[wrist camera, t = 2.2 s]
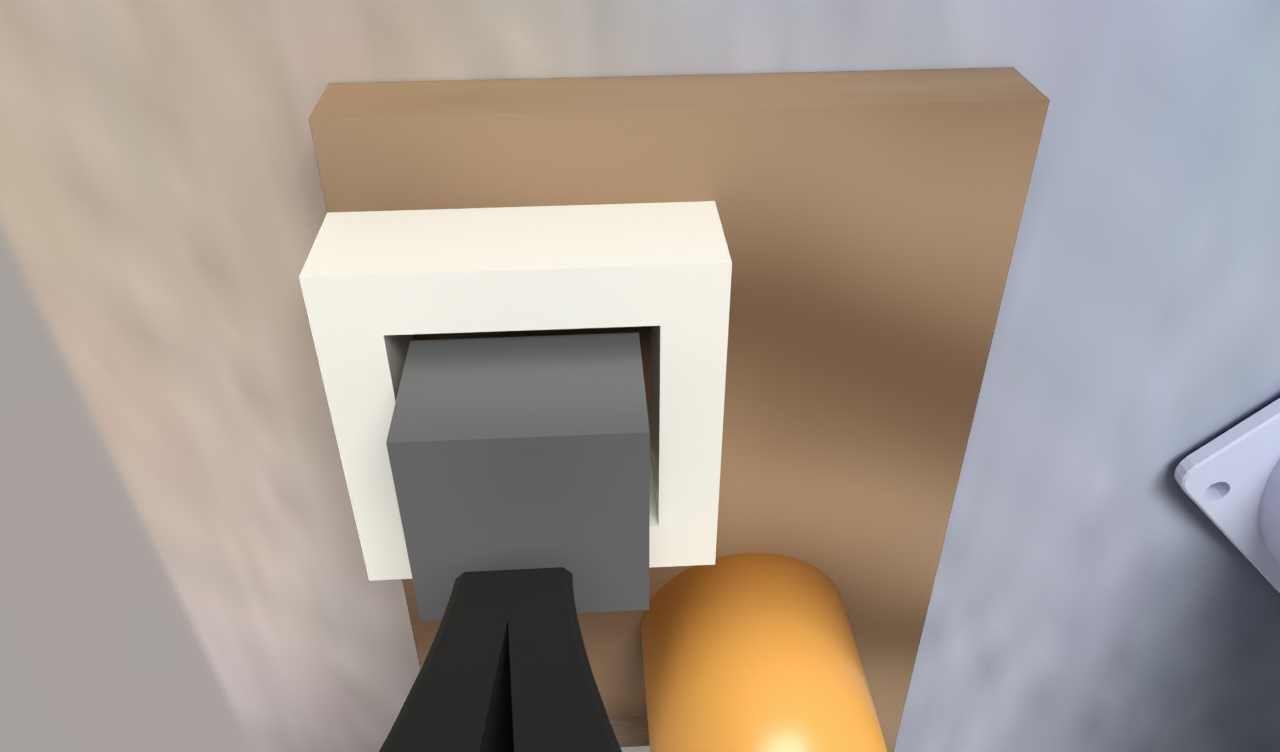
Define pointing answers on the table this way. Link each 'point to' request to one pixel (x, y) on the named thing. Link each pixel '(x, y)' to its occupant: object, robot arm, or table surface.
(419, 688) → the robot arm
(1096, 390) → the table surface
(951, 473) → the tan flat plate
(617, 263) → the frame
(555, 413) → the button
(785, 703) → the cap
